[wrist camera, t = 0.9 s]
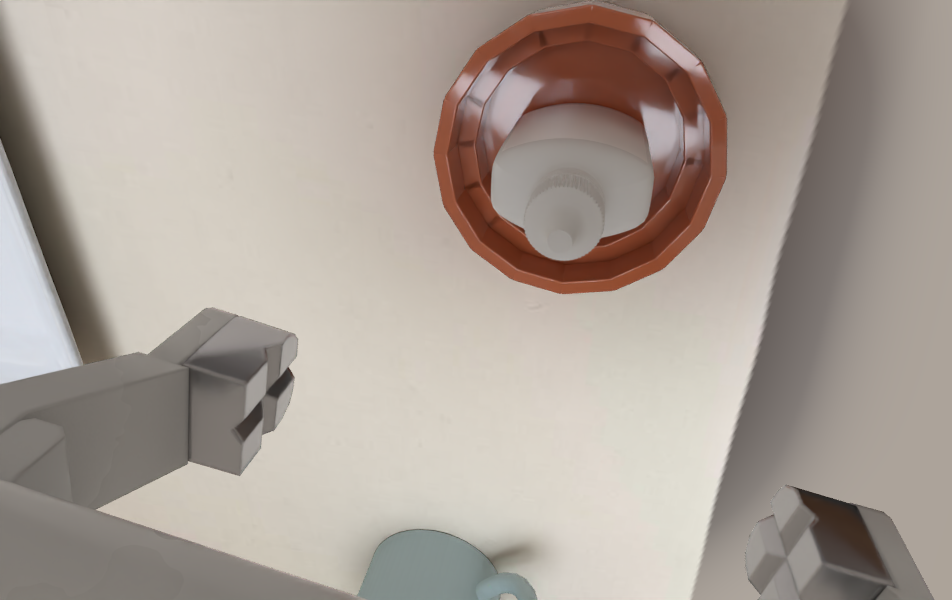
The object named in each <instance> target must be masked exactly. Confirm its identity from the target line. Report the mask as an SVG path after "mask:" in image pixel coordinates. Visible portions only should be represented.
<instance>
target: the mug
mask: <svg viewBox="0 0 952 600" xmlns="http://www.w3.org/2000/svg"><path fill="white" fill-rule="evenodd" d="M503 593H510V594H513V595H515V596H516V598H517V599H518V600H537V597H536V594H535V590H534V589H533V587H532V586H531V585H530V583H529V582H528V581H527V580H526V579H525V578H523V577H521V576H519V575H518V574H515V573H500V574H497V572H496V570H495V568H494V566H493V565H492V564H491V562H490V561H489V560H488V559H487V558H486V557H485V556H484V555H483V554H482V553H481V552H480V551H479V550H477V549H476V548H475V547H473V546H472V545H470V544H469V543H467V542H465V541H463V540H461V539H459V538H457V537H454V536H451V535H448V534H445V533H441V532H437V531H431V530H410V531H404V532H400V533H397V534H395V535H392V536H390V537H389V538H387V539H386V540H384V541H383V542H382V543H381V544H380V545H379V547H378V548H377V549H376V551H375V553H374V556H373V558H372V561H371V563H370V566H369V568H368V571H367V573H366V576H365V578H364V580H363V583H362V585H361V588H360V590H359V593H358V595H357V596H358V597H361V598H365V599H368V600H500V595H501V594H503Z"/></svg>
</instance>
